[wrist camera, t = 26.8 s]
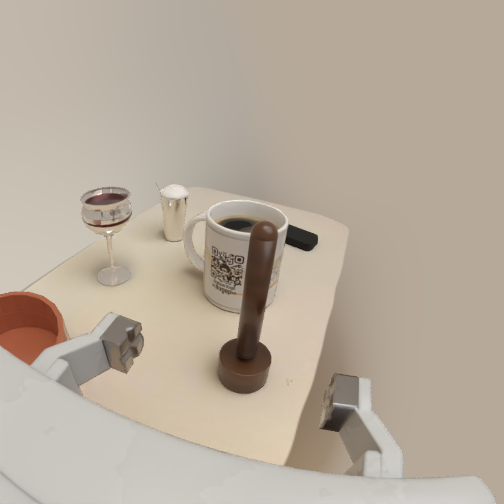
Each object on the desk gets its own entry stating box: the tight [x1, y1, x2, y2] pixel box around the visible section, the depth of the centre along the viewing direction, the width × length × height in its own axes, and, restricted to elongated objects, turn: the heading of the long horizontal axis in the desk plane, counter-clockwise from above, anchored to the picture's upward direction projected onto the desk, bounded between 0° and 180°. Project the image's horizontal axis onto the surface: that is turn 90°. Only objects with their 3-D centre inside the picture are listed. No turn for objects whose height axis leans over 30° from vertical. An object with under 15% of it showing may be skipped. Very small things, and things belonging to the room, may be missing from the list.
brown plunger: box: [218, 221, 278, 393], centre depth 27 cm, size 5×5×17 cm
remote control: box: [285, 224, 318, 251], centre depth 59 cm, size 5×2×15 cm
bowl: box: [0, 292, 70, 366], centre depth 24 cm, size 14×14×6 cm
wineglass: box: [80, 187, 132, 286], centre depth 39 cm, size 7×7×12 cm
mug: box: [183, 200, 289, 313], centre depth 41 cm, size 10×12×11 cm
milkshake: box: [160, 184, 189, 242], centre depth 51 cm, size 5×5×10 cm
